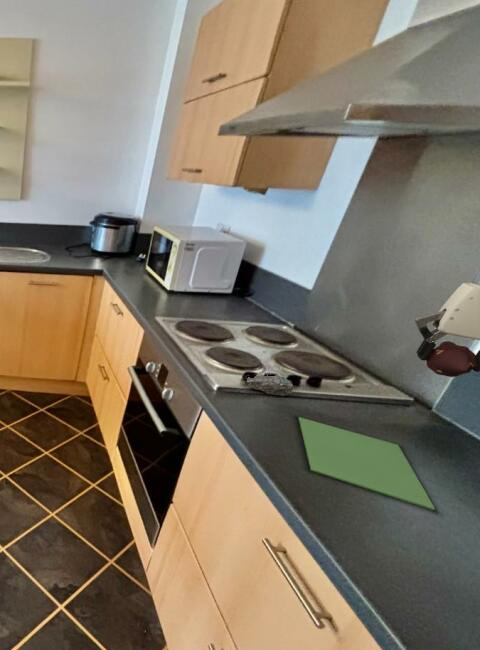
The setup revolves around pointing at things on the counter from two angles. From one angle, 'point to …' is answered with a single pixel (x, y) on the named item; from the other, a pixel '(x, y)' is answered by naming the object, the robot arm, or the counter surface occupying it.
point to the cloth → (362, 462)
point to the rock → (271, 384)
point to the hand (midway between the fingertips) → (447, 363)
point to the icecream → (451, 359)
